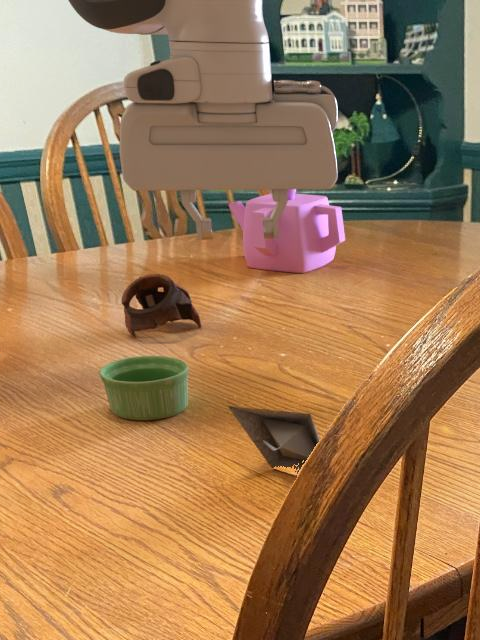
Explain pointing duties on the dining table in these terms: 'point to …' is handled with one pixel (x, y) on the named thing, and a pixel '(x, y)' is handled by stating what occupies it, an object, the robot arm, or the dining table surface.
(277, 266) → the teakettle
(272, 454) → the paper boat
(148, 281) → the brown hollow shell
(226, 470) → the dining table surface
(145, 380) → the ramekin
